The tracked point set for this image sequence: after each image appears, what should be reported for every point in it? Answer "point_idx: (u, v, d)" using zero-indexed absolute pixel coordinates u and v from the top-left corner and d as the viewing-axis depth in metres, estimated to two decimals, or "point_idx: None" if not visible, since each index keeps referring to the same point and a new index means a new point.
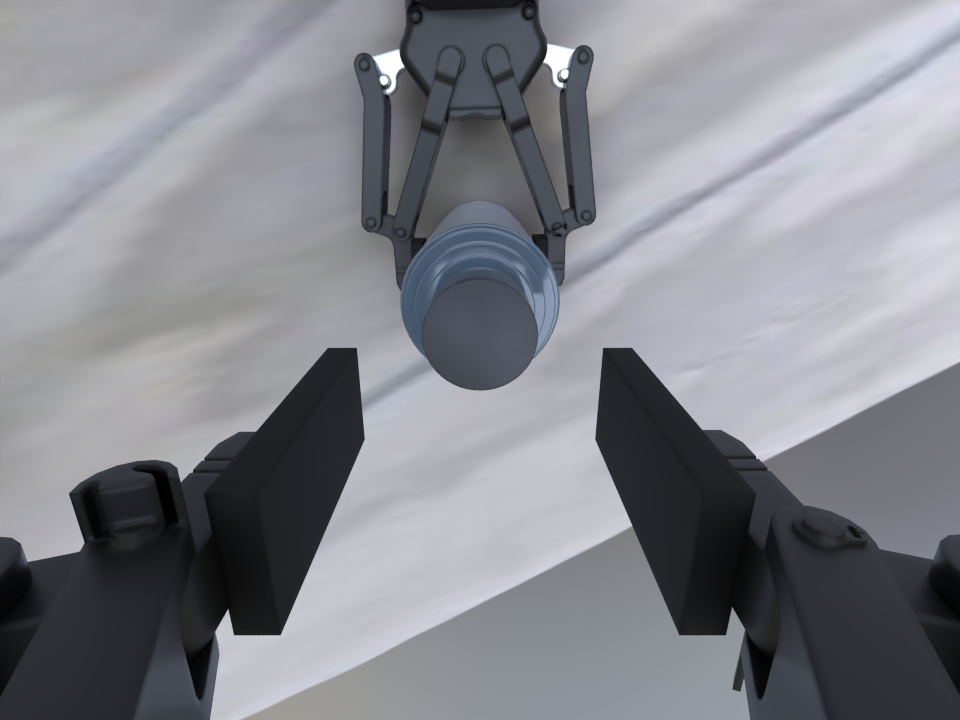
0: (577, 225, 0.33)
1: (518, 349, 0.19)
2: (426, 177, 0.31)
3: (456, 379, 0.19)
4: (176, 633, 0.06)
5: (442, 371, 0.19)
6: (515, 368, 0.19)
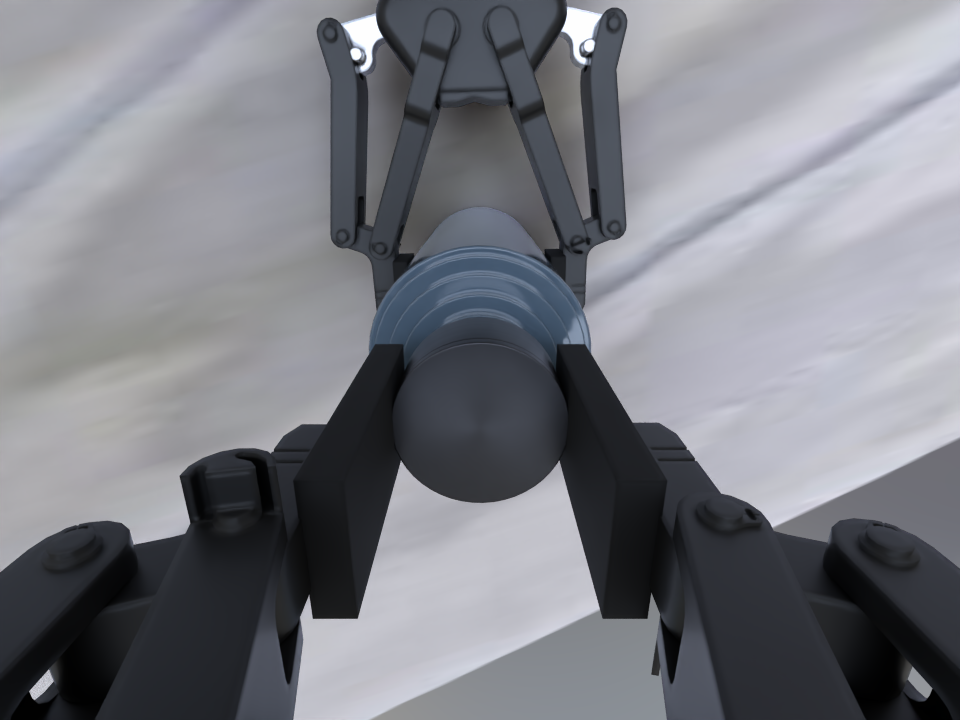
0: (602, 239, 0.26)
1: (539, 445, 0.12)
2: (412, 179, 0.25)
3: (444, 487, 0.13)
4: (272, 618, 0.06)
5: (422, 476, 0.13)
6: (534, 472, 0.13)
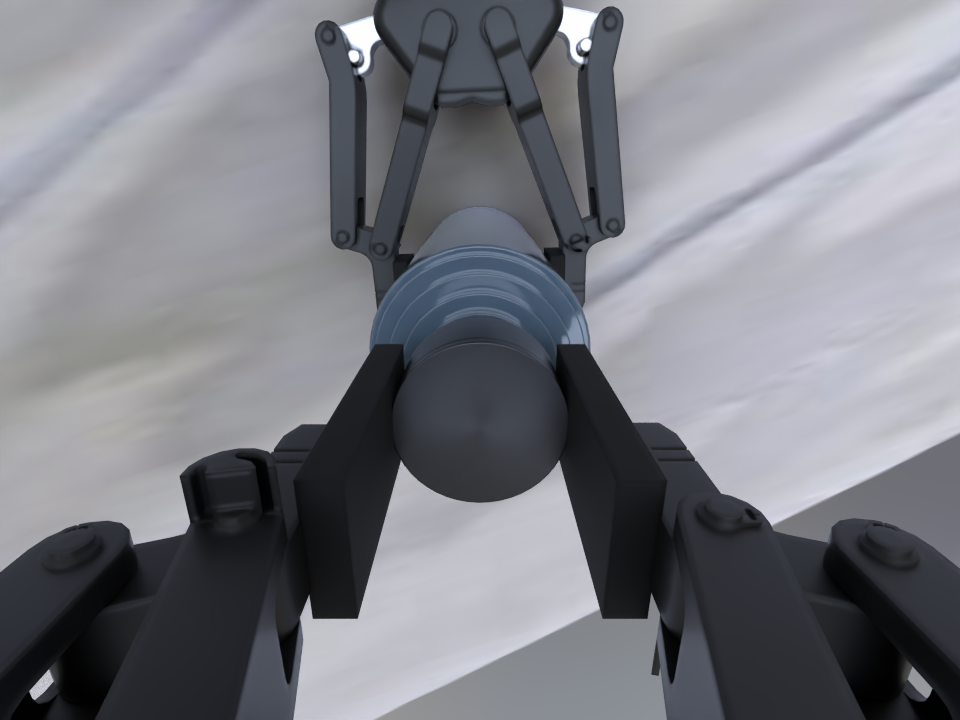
0: (601, 237, 0.26)
1: (478, 368, 0.12)
2: (411, 179, 0.25)
3: (558, 437, 0.12)
4: (272, 618, 0.06)
5: (551, 459, 0.12)
6: (511, 361, 0.12)
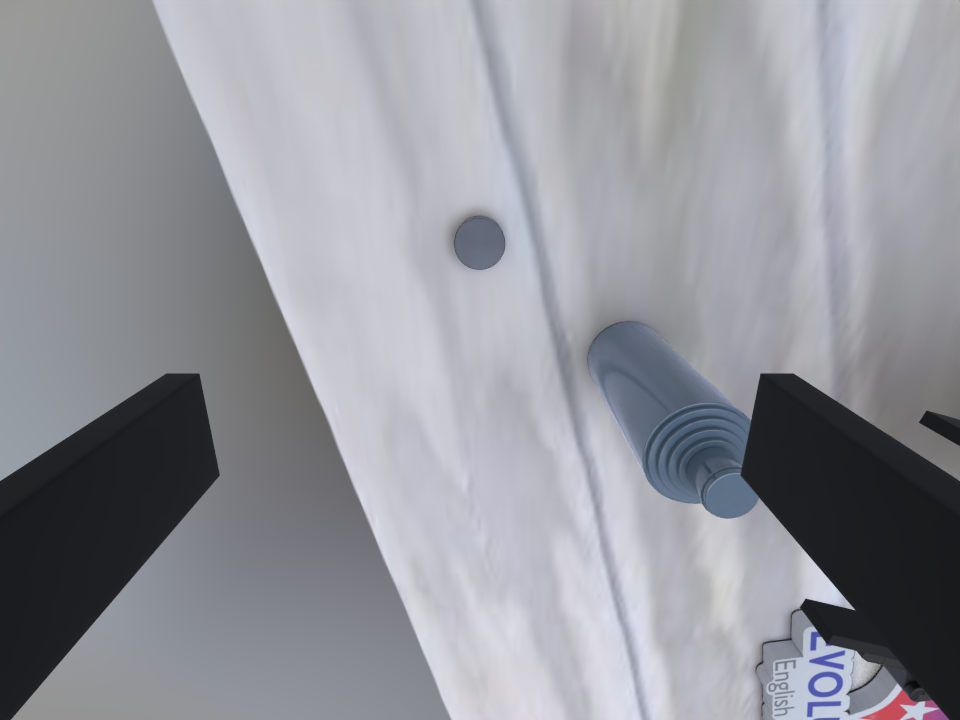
0: (908, 680, 0.32)
1: (491, 257, 0.43)
2: None
3: (460, 255, 0.43)
4: None
5: (457, 249, 0.43)
6: (485, 265, 0.44)
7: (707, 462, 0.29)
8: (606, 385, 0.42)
